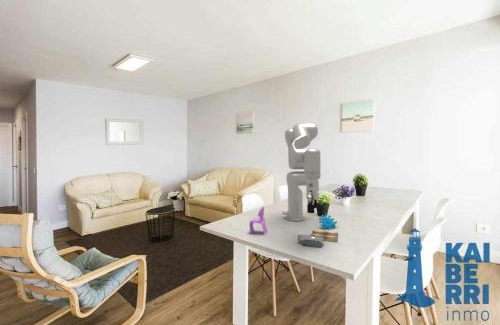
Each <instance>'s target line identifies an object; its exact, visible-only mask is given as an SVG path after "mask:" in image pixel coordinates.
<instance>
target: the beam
mask: <svg viewBox="0 0 500 325" xmlns="http://www.w3.org/2000/svg"><path fill="white" fill-rule="evenodd" d="M309 236H315V237H323V238H324V241H325V242H334V243H338V240H339V232H337V231H327V230H326V231H324V230H316V229H312V230H311V234H310V235H309Z"/></svg>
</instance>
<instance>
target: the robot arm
mask: <svg viewBox="0 0 500 325" xmlns="http://www.w3.org/2000/svg"><path fill="white" fill-rule="evenodd" d="M318 129H319V128H318V126H317V125H316V124H315V123H313V122H309V123H297V124H294V126H292V128H288V129H286V130H285V131H284V139H285V142H286V145H287V149H288V150H287V151H288V152H287V153H288V154H287V156H288V158H287V159H288V168H289V169H291V170H303V171H289V172H288V173H287V174H286V177H285V178H286V184H287V209H288V210H287V211H284V210H283V211H281V215H282V216H285V219H286V220H288V221H292V222H301V221H305V220H306V217H305V216H304V213H303V208H304V205H303V200H304V199H303V196H304V195H303V191H302V189H301V188H300V187H306V194H305V195H306V199H307V204H306V208H307V214H315V209H317V208H318V200H319V197H320V182H319V181H320V179H321V151H320V150H319V149H318V148H317V149H316V148H307V147H308V146H310V144H311V142H312V141H313V140H315V139H316V138H317V136H318V134H319V130H318Z"/></svg>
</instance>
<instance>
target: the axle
mask: <svg viewBox="0 0 500 325" xmlns="http://www.w3.org/2000/svg"><path fill="white" fill-rule="evenodd" d="M302 240H306V241H314V242H322V244H323V245H324V238H323V237H315V236H310V235H305V234H297V242H300V243H302Z"/></svg>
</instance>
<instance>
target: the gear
mask: <svg viewBox="0 0 500 325" xmlns="http://www.w3.org/2000/svg"><path fill="white" fill-rule="evenodd" d="M327 216H328V217H327ZM318 219H319V223H320V227H323V229H324V230H328V231H330V230H334V229H335V227H337V225H336V224H338V221H337V220H335V218H333V217H332V216H331V215H327V214H324V215H323V214H321V216H320V217H319V218H318ZM334 220H335V221H334Z"/></svg>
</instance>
